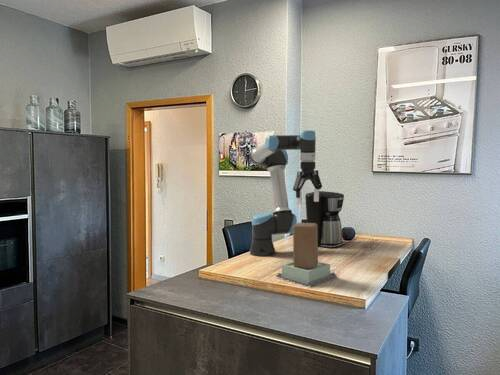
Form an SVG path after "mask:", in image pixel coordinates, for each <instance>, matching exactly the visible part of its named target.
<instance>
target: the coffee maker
mask: <svg viewBox="0 0 500 375" xmlns="http://www.w3.org/2000/svg"><path fill="white" fill-rule="evenodd" d="M304 198H305V213H306V214H305V216H306V223H316V224H317V225H318V248H326V249H334V248H335V249H336V248H339V247H341V246H343V245H344V244H345V241H343V228H342V222H341V221H342V220H341V218H340V216H339V213H340V212H341V211H342V209H343V205H344V199H345V195H344V194H343V193H339V192H335V191H334V192H333V191H324V190H319V202H315V201H314V191H312V192H308V193H306V194H305V196H304Z"/></svg>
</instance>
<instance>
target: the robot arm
mask: <svg viewBox="0 0 500 375" xmlns="http://www.w3.org/2000/svg"><path fill="white" fill-rule="evenodd" d="M299 133H300V135H299V134H292V135H287V134H286V135H284V134H282V135H279V134H277V135H275V134H272V135H266V137H265V141H264V142H263V143H262V144H261V145H259V146H255V147H253V148H252V149H251V150H250V152H249V155H248V156H249V159H250V161H251V163H252V164H254V165H256V166H258V167H266V170H267V171H268V172H269V176H270V182H271V192H272V198H273V199H272V200H273V205H274V206H273V207H274V208H273V209H274V210H273V212H272V213H271V212H262V213H257V214H254V215H253V217H252V218H251V234H252V240H251V244H250V248H249V254H250V255H252V256H257V257H267V256H268V257H269V256H272V255H275V254H276V248H275V245H274V242H273V236H274V235H285V234H286V235H288V234H293V227H294V226H295V225H296V224H297V223H298V222H297V215H296V214H295V213H293V211H292V209H290V206H289V200H288V193H287V192H288V191H287V186H286V185H287V184H286V177H285V171H284V170H285V169H286V166H287V165H288V163H289V155H288V152H287V151H293V150H294V151H297V150H298V151H300V152H299V153H300V156H299V158H300V170H301V171H297V172H296V178H295V182H294V184H293V188H292V191H294V192H295V198H296V205H301V206H302V205H303V204H302V203H303V202H302V200H303V199H302V198H303V192H302V189H303V187H304V185H305V183H306V181H309V180H310V182H311V184H312V185H313V187H314V188H313V192H314V201H315V202H319V191H320V190H321V189H322V188H323V185H322V182H321V178H320V175H319V170H317V169H316V145H317V144H316V143H317V142H316V132H315V130H301V131H300V132H299Z"/></svg>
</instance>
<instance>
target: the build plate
mask: <svg viewBox="0 0 500 375" xmlns="http://www.w3.org/2000/svg"><path fill="white" fill-rule="evenodd" d="M276 277H279V278H283V279H286V280H289V281H288V282H290V281H292V282H291V283H293V282H295V283H294V284H297V283H299V284H298V285H300V284H302V285H301V286H303V285H306V286H305V287H307V286H312V287H314V286H317V285H319V284H318V283H320V284H322V283H325V282H326V281H329V280H332V279H335V278H337V274H336V273H335V272H334V271H333V272H331V264H330V263H327V262H323V261H319V260H318V264H317V266H316V267H315V268H314V269H300V268H296V267H294V260H293V261H290V262H287V263H286V262H285V263H282V264H281V273H280V272H278V273H277V274H276V275H275V278H276ZM279 278H278V279H279ZM283 279H282V280H283ZM286 280H285V281H286ZM324 281H325V282H324ZM321 282H322V283H321ZM316 284H317V285H316ZM313 285H314V286H313Z"/></svg>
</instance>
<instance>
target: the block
mask: <svg viewBox="0 0 500 375" xmlns="http://www.w3.org/2000/svg"><path fill="white" fill-rule="evenodd" d="M292 237H293V238H292V240H293V244H292V245H293V247H292V248H293V249H292V250H293V251H292V252H293V255H292V256H293V261H294V267H296V268H300V269H314V268H315V267H316V266H317V264H318V261H319V253H318V252H319V251H318V250H319V247H318V225H317V224H316V223H307V222H297V224H296V225H295V226H294V227H293V233H292Z"/></svg>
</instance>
